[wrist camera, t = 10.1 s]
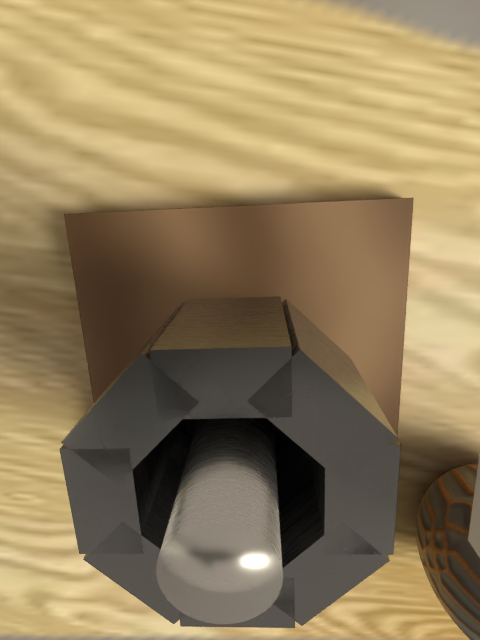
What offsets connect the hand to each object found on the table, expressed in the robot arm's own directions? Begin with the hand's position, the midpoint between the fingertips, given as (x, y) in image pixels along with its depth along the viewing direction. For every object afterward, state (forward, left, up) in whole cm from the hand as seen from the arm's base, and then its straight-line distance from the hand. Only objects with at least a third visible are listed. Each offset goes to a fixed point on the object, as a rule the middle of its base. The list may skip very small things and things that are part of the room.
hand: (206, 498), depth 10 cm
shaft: (0, 0, -8) cm, 8 cm away
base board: (0, 0, -10) cm, 10 cm away
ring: (+1, 0, -5) cm, 5 cm away
